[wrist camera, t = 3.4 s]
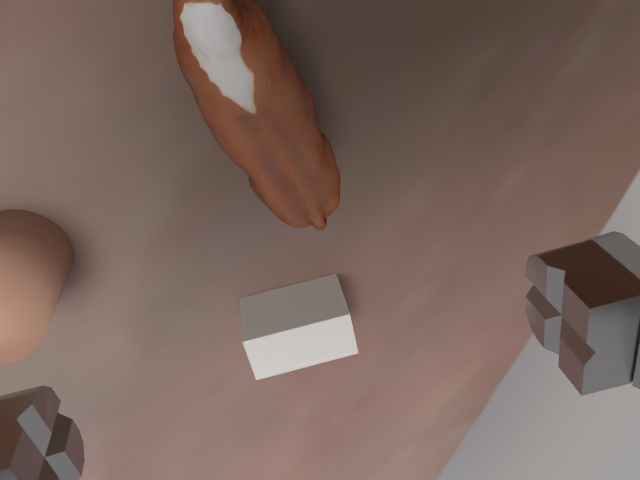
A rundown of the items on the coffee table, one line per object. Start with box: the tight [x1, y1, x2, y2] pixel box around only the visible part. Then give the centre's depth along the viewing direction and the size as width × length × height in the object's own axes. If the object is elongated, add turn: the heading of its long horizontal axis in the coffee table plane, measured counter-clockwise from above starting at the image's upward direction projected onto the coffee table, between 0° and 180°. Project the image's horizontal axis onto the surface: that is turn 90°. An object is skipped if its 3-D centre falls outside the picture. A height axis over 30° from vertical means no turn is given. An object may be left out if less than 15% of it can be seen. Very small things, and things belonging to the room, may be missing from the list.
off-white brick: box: [240, 274, 358, 380], centre depth 32 cm, size 6×3×4 cm, turn 101°
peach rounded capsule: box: [0, 210, 73, 366], centre depth 27 cm, size 5×5×6 cm
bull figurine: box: [173, 0, 340, 230], centre depth 22 cm, size 4×13×8 cm, turn 19°
